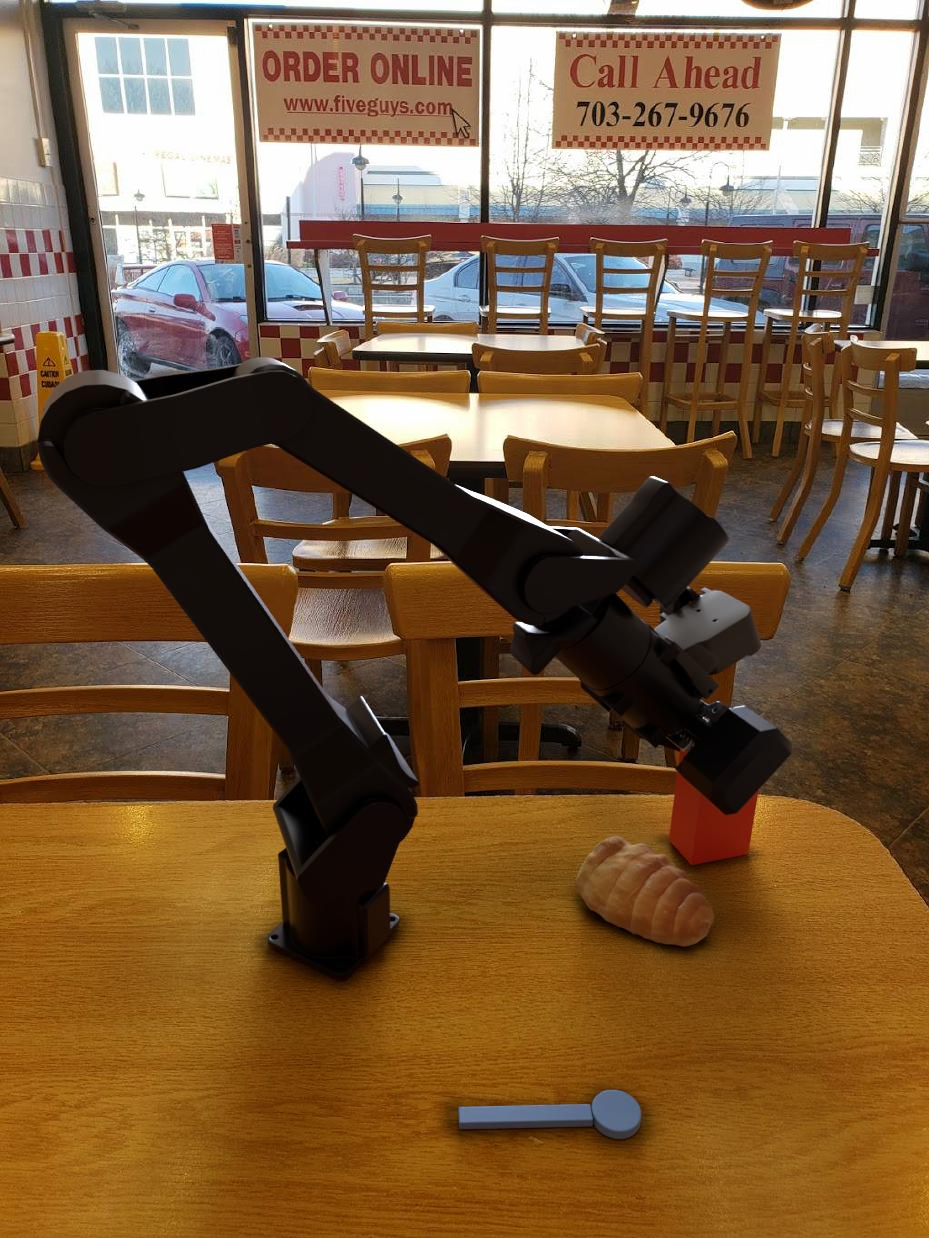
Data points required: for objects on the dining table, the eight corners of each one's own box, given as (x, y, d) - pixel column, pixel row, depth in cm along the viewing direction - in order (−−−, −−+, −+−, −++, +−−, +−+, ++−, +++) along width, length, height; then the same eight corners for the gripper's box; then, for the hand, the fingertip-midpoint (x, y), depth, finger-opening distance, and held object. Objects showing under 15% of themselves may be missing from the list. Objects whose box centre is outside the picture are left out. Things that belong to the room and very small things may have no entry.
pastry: (731, 921, 64) (738, 875, 63) (676, 970, 60) (681, 922, 59) (620, 861, 71) (624, 818, 69) (562, 902, 66) (565, 857, 65)
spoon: (459, 1143, 48) (459, 1134, 48) (457, 1100, 50) (457, 1092, 50) (645, 1139, 48) (646, 1130, 48) (634, 1096, 51) (635, 1088, 51)
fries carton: (691, 865, 70) (709, 730, 66) (668, 840, 73) (684, 708, 69) (748, 854, 72) (770, 720, 67) (723, 829, 75) (743, 700, 70)
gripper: (787, 611, 54) (901, 748, 62) (626, 528, 71) (732, 644, 78) (658, 753, 55) (787, 872, 62) (526, 637, 71) (642, 743, 79)
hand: (734, 770), depth 70 cm, fingers closed on fries carton, 3 cm apart
